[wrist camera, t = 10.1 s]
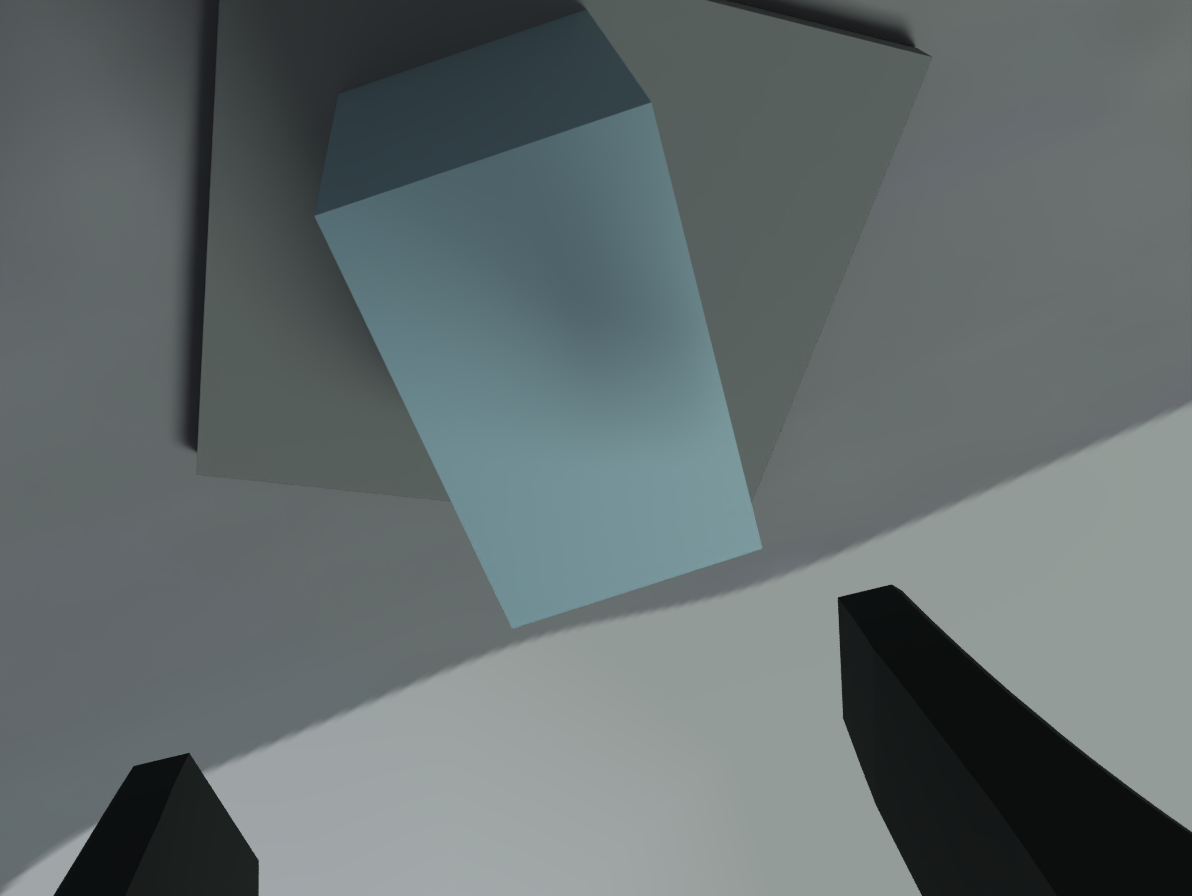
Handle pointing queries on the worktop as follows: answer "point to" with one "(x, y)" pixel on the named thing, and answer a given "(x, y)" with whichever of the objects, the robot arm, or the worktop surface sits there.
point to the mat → (696, 167)
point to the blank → (540, 314)
